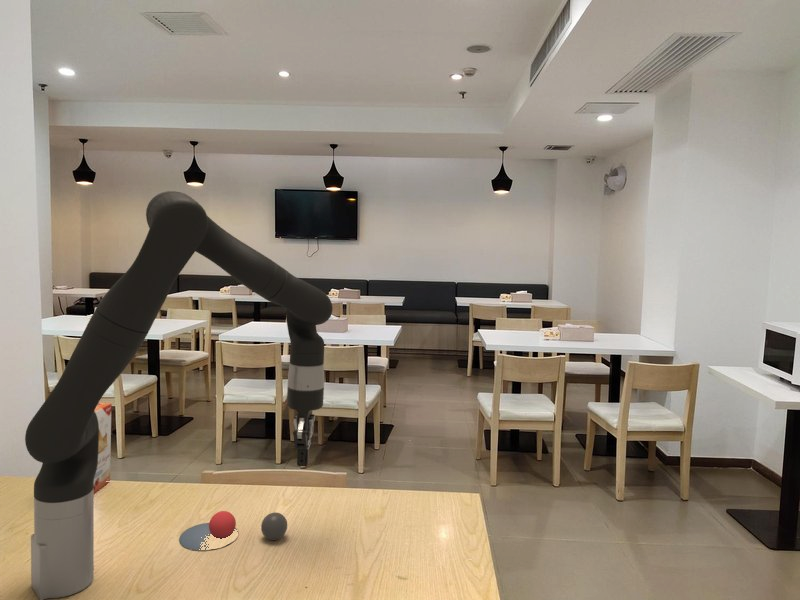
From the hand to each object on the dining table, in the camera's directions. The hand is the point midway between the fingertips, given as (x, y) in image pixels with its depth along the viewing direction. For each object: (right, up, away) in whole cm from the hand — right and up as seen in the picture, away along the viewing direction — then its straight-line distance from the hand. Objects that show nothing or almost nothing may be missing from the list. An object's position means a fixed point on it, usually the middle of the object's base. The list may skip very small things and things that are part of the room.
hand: (302, 464), depth 123 cm
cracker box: (-56, -13, +19) cm, 61 cm away
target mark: (-20, -16, +1) cm, 26 cm away
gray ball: (-6, -14, +2) cm, 15 cm away
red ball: (-17, -13, +1) cm, 22 cm away
